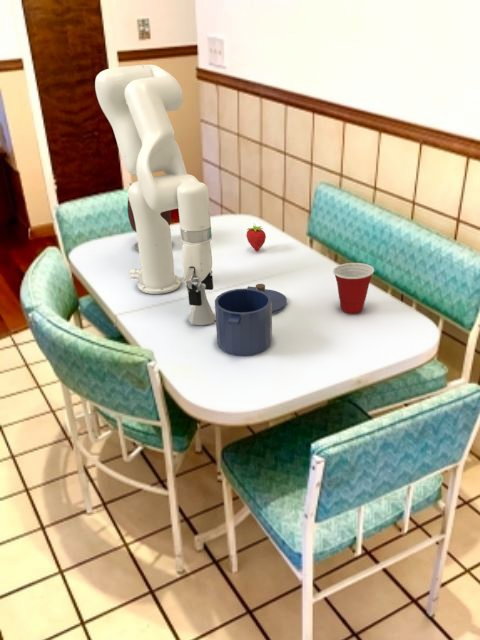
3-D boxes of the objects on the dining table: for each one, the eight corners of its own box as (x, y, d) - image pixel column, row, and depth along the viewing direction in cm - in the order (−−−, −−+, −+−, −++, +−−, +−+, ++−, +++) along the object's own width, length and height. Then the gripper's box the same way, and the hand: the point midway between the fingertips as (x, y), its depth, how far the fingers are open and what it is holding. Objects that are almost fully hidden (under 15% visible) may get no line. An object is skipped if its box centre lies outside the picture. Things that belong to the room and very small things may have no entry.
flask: (188, 314, 172) (185, 280, 167) (215, 312, 173) (213, 279, 168) (188, 327, 166) (185, 292, 161) (216, 325, 167) (213, 291, 161)
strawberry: (254, 257, 206) (253, 227, 200) (243, 249, 211) (242, 220, 206) (269, 253, 208) (269, 224, 203) (258, 246, 214) (258, 217, 209)
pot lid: (228, 313, 172) (227, 294, 169) (241, 290, 184) (241, 272, 181) (281, 318, 169) (281, 299, 166) (291, 295, 181) (291, 276, 178)
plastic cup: (348, 296, 180) (350, 257, 174) (379, 308, 173) (382, 268, 167) (322, 309, 174) (324, 268, 167) (354, 322, 167) (356, 280, 161)
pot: (207, 358, 153) (204, 316, 147) (228, 321, 168) (226, 281, 162) (262, 364, 150) (261, 321, 144) (279, 326, 166) (278, 286, 160)
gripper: (193, 221, 165) (198, 282, 173) (169, 245, 150) (176, 310, 159) (220, 223, 163) (224, 284, 172) (199, 246, 149) (205, 312, 157)
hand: (201, 296), depth 165 cm, fingers open, 9 cm apart
